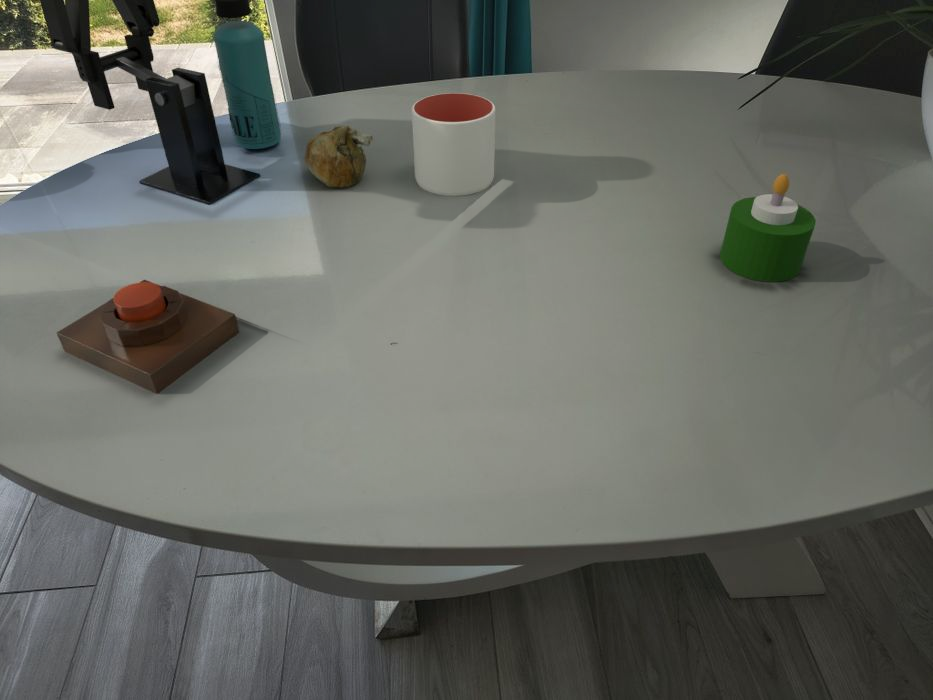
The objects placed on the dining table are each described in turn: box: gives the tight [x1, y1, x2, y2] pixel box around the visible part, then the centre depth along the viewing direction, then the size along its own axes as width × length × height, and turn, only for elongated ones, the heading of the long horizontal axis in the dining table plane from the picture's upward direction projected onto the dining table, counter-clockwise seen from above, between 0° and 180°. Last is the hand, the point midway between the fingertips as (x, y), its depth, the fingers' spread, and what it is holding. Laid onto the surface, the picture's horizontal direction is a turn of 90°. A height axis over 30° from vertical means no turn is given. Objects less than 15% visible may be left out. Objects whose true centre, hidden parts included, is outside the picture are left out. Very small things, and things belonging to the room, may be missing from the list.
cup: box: [411, 92, 496, 197], centre depth 90 cm, size 10×10×10 cm
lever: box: [100, 47, 195, 107], centre depth 87 cm, size 12×6×2 cm, turn 61°
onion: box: [304, 125, 374, 189], centre depth 91 cm, size 8×8×8 cm
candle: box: [719, 173, 816, 283], centre depth 76 cm, size 8×8×10 cm
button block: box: [56, 279, 240, 395], centre depth 67 cm, size 12×10×4 cm
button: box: [112, 281, 166, 322], centre depth 65 cm, size 4×4×2 cm
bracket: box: [138, 67, 262, 206], centre depth 89 cm, size 12×9×14 cm
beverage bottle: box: [212, 0, 283, 150], centre depth 96 cm, size 6×7×20 cm
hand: (126, 97), depth 91 cm, fingers closed on lever, 6 cm apart
